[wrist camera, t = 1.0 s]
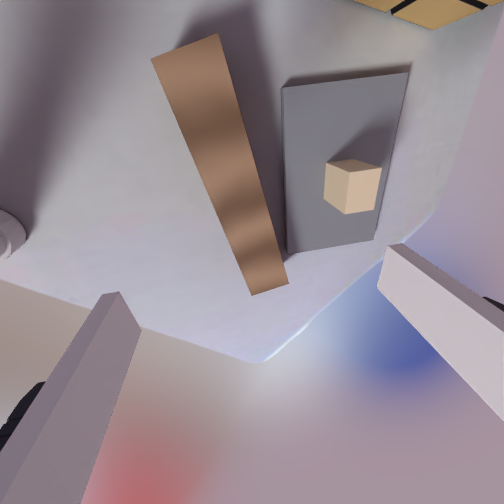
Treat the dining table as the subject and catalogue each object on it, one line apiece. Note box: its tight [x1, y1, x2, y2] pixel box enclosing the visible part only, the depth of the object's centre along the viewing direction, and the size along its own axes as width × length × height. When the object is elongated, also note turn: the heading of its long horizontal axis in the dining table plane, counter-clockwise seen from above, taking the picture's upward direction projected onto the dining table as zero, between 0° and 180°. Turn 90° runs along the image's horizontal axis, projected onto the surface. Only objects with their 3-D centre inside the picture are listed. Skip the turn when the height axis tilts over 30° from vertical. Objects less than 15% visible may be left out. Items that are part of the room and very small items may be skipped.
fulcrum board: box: [281, 72, 409, 254], centre depth 23 cm, size 18×12×6 cm, turn 6°
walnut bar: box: [151, 33, 289, 296], centre depth 23 cm, size 24×5×4 cm, turn 17°
